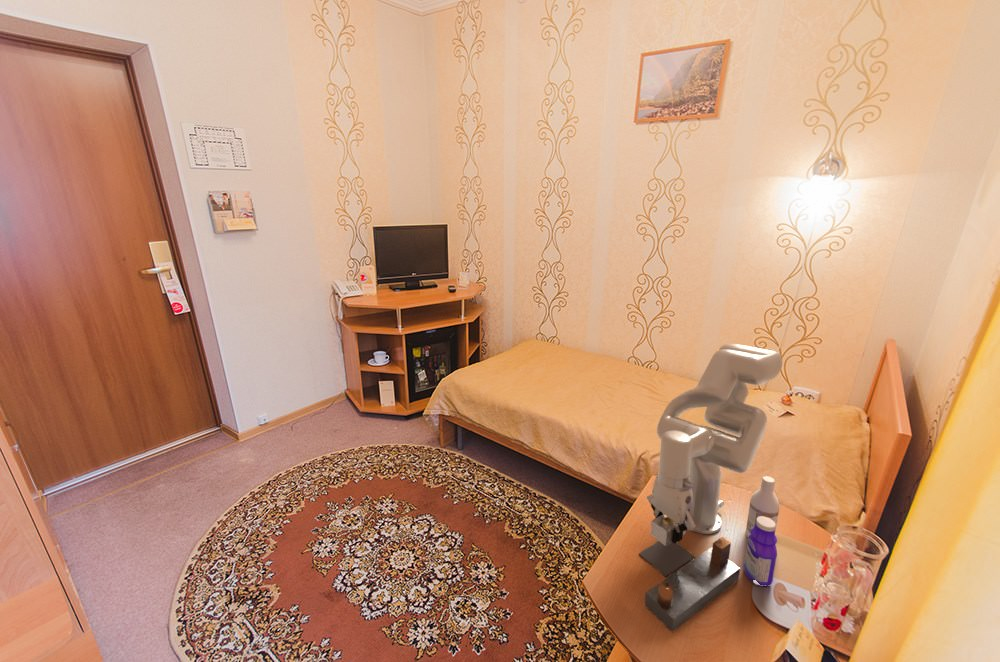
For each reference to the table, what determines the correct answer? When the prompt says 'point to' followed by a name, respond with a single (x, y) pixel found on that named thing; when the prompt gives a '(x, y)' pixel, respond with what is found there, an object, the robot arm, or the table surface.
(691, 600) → the body
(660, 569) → the rubber mat
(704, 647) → the table surface
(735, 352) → the robot arm
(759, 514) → the bath foam
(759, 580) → the bottle
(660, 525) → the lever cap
